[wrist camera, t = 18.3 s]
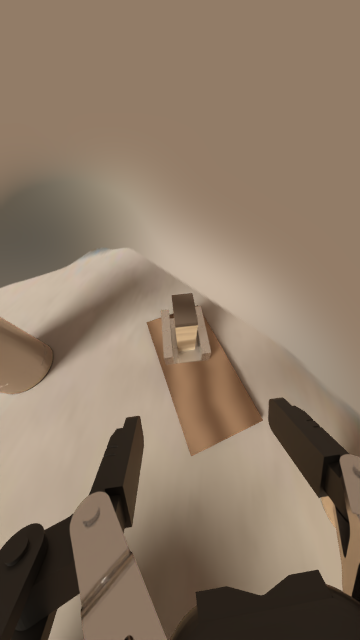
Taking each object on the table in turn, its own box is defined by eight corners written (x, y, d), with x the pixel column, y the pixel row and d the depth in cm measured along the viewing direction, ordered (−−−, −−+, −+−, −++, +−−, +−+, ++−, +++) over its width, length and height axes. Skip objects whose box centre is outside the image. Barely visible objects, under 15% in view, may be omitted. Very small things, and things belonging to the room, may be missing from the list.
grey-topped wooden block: (194, 349, 30) (198, 322, 22) (177, 351, 29) (175, 324, 22) (190, 324, 32) (192, 293, 25) (175, 326, 32) (171, 295, 25)
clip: (208, 359, 29) (211, 352, 26) (165, 364, 28) (163, 358, 26) (199, 316, 34) (200, 306, 31) (163, 320, 33) (160, 310, 31)
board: (191, 455, 23) (191, 456, 22) (147, 325, 34) (146, 322, 33) (259, 420, 25) (263, 420, 24) (197, 308, 36) (197, 305, 35)
